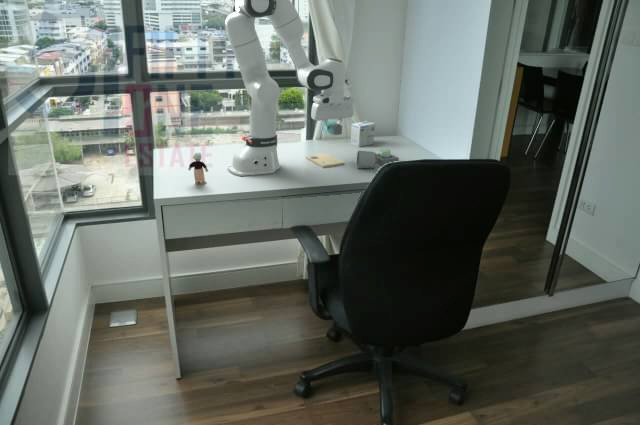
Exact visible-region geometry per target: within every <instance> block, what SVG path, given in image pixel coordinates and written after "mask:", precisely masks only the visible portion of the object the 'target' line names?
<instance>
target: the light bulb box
mask: <svg viewBox="0 0 640 425" xmlns="http://www.w3.org/2000/svg"><path fill="white" fill-rule="evenodd" d="M375 128H376V123H375V122H371V121H369V120H365V121H359V122H354V123H351V128H350V131H351V132H350V145H352V146H355V147H357V148H360V147H361V148H362V147H364V146H369V145H373V144H374V141H375Z"/></svg>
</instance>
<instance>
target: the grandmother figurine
mask: <svg viewBox="0 0 640 425" xmlns="http://www.w3.org/2000/svg"><path fill="white" fill-rule="evenodd" d="M202 156H203V155H202V153H201V152H199V151H197V152H194V153H193V155H192V159H193V160H194V161H192V162H191V163H189V165H188V168H187V169H188V171H191V169H192V168H193V176H194V181H195V182H194V185H202V186H203V185H206V184H207V183H208V182H207V181H206V179H205V172H209V169H208V167H207V165H206V163H205V162H203V161H201V160H202ZM204 171H205V172H204Z"/></svg>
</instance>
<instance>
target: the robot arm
mask: <svg viewBox="0 0 640 425" xmlns="http://www.w3.org/2000/svg"><path fill="white" fill-rule="evenodd" d="M232 9H233V11H232V13H230V14H229V15H228V16H227V17H226V19H225V22H224V23H225V29H226V34H227V38H228V41H229V43H230V47H231V50H232V52H233V54H234V57H235V59H236V62H237V65H238V67H239V72H240V75H241V78H242V81H243V85H244V87H245V89H246V92H247V94H248V95H249V97H250V98H251V105H250V106H251V107H250V114H249V117H248V118H249V134H248V136H246V135H244V134H242V136H241V140H242V141H245V144H244V145H243V146H241V147H240V149H238V150H237V151H236V152H235V153H234V154H233V156H232V163H229V164H227V170H228V171H229V172H230V173H231V174H233V175H235V176H239V177H243V176H255V175H267V174H268V175H270V174H275V173H276V171H277V170H279V169H280V168H281V165H280V161H279V155H278V150H277V147H278V135H277V113H278V106H279V100H280V99H281V98H280V97H281V90H280V87H279V84H278V83H277V81H276V80H275V79H273V78H272V77H271V75H270V73H269V71H268V70H269V69H268V67H267V66H268V64H267V63H266V56H265V53H264V50H263V47H262V44H261V40H260V39H259V36H258V33H257V30H256V27H255V21H256V18H257V19H260V18H264V17H267V19H268V20H269V21H270V23H271V25H272V28H273V29H274V32H275V34H276V36H278V37H279V39H280V41H281V42H282V44H283V45H284V46H285V48H286V51H287V53H288V54H289V57H290V58H291V61H292V63H293V65H294V70H295V77H296V80H297V83H298V84H299V85H300V86H302V87H304V88H307V89H309V90H310V91H311V90H312V91H314V92H319V91H323V92H321V93H319V94H317V95H315V96H313V98H312V101H313V103H312V105H311V113H310V115H311V119H312V120H314V121H315V122H318V121H322V124H323V123H324V125H325V129H326V130H327V129H329V125H328V124H327V122H328V121H329V120H336V119H337V121H336V123H338V124H340V125H341V123H342V122H343V119H346V118H352V117H354V98H353V97H352V96H351V95H348V96H345V87H344V84H345V81H346V80H345V78H346V67H345V66H346V65H345V63H344V61H343V60H340V59H337V58H333V57H328V58H326V59H325V60H324V61H323V62H320V64H317V65H314V64H313V63H312V62H310V60H309V59H308V56H307V55H306V52H305V50H304V48H303V45H302V38H303V36H304V34H305V33H304V32H305V27H304V24H303V22H302V19H301V16H300V15H299V13H298V11H297V10H296V7H295V6H294V4H293V2H292V1H291V0H233V8H232Z"/></svg>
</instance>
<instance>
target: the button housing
mask: <svg viewBox="0 0 640 425" xmlns="http://www.w3.org/2000/svg"><path fill="white" fill-rule="evenodd" d="M376 154H377V162H376V165H378V166H380V167H382V166H383V165H384V164H386V163H389V162H394V161H399V160H400V157H399V156H396V155H394V154H392V153H391V154H390V158H385V159H383V158H381V157H380V152H379V153H376Z"/></svg>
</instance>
